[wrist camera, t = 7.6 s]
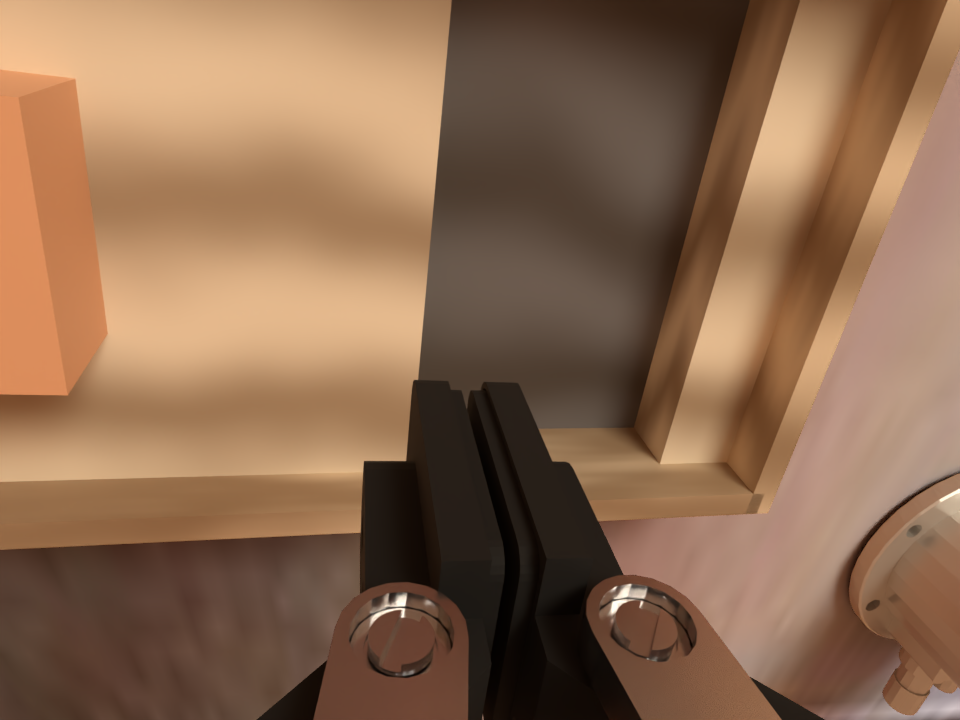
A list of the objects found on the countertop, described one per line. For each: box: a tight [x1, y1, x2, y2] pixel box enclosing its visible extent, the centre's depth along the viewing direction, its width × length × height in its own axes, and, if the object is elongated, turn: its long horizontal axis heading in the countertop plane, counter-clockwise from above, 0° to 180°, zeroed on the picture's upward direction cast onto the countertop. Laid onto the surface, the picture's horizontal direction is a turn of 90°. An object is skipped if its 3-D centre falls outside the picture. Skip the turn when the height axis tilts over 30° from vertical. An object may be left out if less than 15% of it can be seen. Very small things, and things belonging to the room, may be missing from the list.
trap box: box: [0, 0, 960, 550], centre depth 18 cm, size 20×46×5 cm, turn 83°
